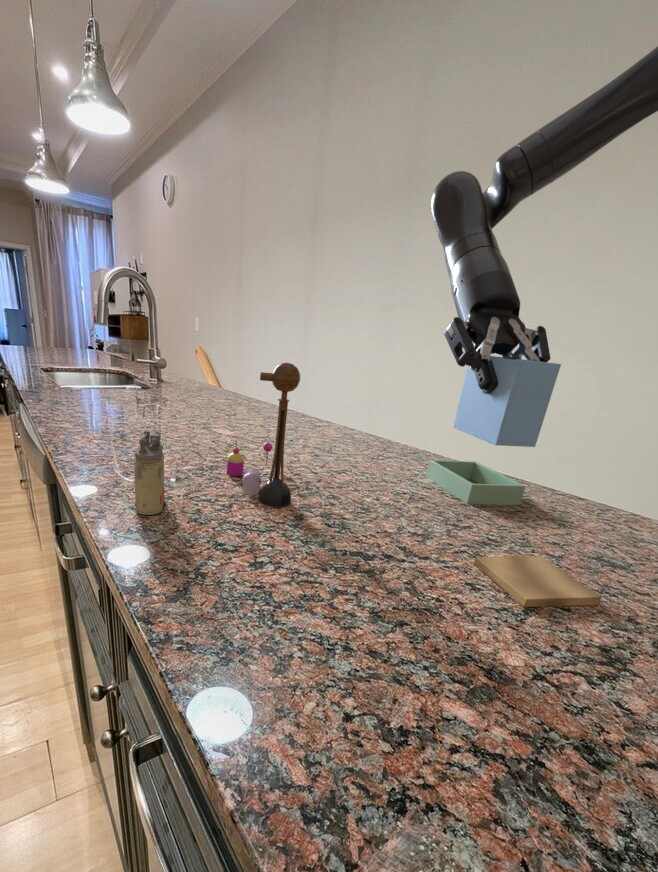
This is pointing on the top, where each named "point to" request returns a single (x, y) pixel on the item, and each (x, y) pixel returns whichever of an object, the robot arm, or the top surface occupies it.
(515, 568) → the cork mat
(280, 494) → the wooden tabletop sculpture
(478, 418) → the top bin
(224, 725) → the top surface
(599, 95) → the robot arm
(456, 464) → the bottom bin
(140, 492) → the beige upright cylinder
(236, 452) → the candy
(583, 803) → the top surface
